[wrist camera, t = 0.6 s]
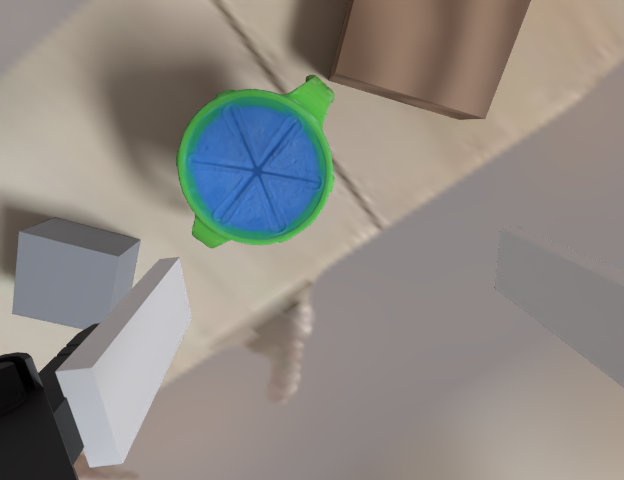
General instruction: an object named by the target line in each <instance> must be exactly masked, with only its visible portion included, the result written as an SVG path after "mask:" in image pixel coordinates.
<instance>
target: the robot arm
mask: <svg viewBox="0 0 624 480" xmlns="http://www.w3.org/2000/svg"><path fill="white" fill-rule="evenodd" d="M494 288H495V289H496V290H498V291H499V292H500V293H501V294H503V295H504V296H505V297H506V298H508V299H509V300H510V301H512V302H513V303H514V304H516V305H517V306H518V307H519V308H521V309H522V310H524V311H525V312H526V313H527V314H529V315H530V316H531V317H533V318H534V319H535V320H537V321H538V322H539V323H540V324H542V325H543V326H544V327H545V328H547V329H548V330H549V331H551V332H552V333H553V334H555V335H556V336H557V337H558V338H560V339H561V340H562V341H564V342H565V343H566V344H568V345H569V346H570V347H571V348H573V349H574V350H576V351H577V352H578V353H579V354H581V355H582V356H583V357H584V358H586V359H587V360H588V361H590V362H591V363H592V364H594V365H595V366H596V367H598V368H599V369H600V370H601V371H603V372H604V373H605V374H607V375H608V376H609V377H611V378H612V379H613V380H614V381H616V382H617V383H618V384H620V385H621V386H622V387H624V271H621V270H619V269H617V268H614V267H612V266H609V265H607V264H605V263H603V262H600V261H598V260H596V259H593V258H591V257H588V256H586V255H584V254H582V253H579V252H577V251H575V250H572V249H570V248H568V247H565V246H563V245H561V244H558V243H556V242H554V241H551V240H549V239H547V238H544V237H542V236H539V235H537V234H535V233H532V232H530V231H528V230H525V229H523V228H521V227H508V228H501V231H500V240H499V250H498V260H497V269H496V278H495V287H494ZM191 319H192V317H191V312H190V307H189V302H188V297H187V292H186V287H185V282H184V277H183V272H182V267H181V263H180V258H179V257H177V258H166V259H159V260H158V261H157V262H156V264H155V265H154V266H153V267H152V268H151V269H150V270H149V271H148V272H147V273H146V274H145V275H144V276H143V278H142V279H141V280H140V281H139V282H138V283H137V284H136V285H135V286H134V287H133V288H132V289H131V290H130V292H129V293H128V294H127V295H126V296H125V297H124V298H123V299H122V300H121V301H120V302H119V303H118V304H117V306H116V307H115V308H114V309H113V310H112V311H111V312H110V313H109V314H108V315H107V316H106V317H105V318H104V320H103V321H102V322H101V323H97V324H93V325H91V326H89V327H88V328H86V329H85V330H83V331H81V332H80V333H78V334H77V335H76V336H75V337H74V338H73V339H72V340H71V341H70V342H69V343H68V344H67V345H66V347H64V348H63V349H62V350H61V351H60V352H59V353H58V354H57V357H54V358H53V359H52V360H51V361H50V362H49V363H48V364H47V365H46V366H45V367H44V368H43V369H42V370H41V371H40V372H39V373H38V372H37V369H36V367H35V364H34V362H33V359H32V357H31V356H30V355H29V354H27V353H19V352H17V353H11V354H4V355H1V356H0V480H79V479H78V477H77V474H76V471H75V469H74V466H73V464H74V463H75V461H76V459H77V458H78V456H79V455H80V453H81V451H82V450H84V453H85V455H86V458H87V461H88V464H89V466H90V467H98V466H107V465H115V464H123V462H124V460H125V458H126V456H127V454H128V452H129V449H130V447H131V445H132V443H133V441H134V439H135V437H136V435H137V433H138V431H139V428H140V426H141V424H142V422H143V420H144V418H145V416H146V414H147V412H148V409H149V407H150V405H151V403H152V401H153V399H154V397H155V395H156V393H157V391H158V388H159V386H160V384H161V382H162V380H163V378H164V376H165V374H166V372H167V370H168V367H169V365H170V363H171V361H172V359H173V357H174V355H175V353H176V351H177V349H178V346H179V344H180V342H181V340H182V338H183V336H184V334H185V332H186V330H187V327H188V325H189V323H190V321H191Z"/></svg>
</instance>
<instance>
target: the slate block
mask: <svg viewBox="0 0 624 480" xmlns="http://www.w3.org/2000/svg"><path fill="white" fill-rule="evenodd" d="M140 241H141V240H139V239H135V238H132V237H128V236H124V235H120V234H116V233H113V232H109V231H105V230H101V229H97V228H94V227H90V226H86V225H82V224H78V223H75V222H71V221H67V220H63V219H59V218H56V217H55V218H52V219H50V220H47V221H45V222H42V223H40V224H37V225H34V226H32V227H29V228H27V229H24V230H22V231H19V238H18V250H17V262H16V274H15V287H14V299H13V311H12V314H15V315H20V316H25V317H29V318H34V319H38V320H43V321H47V322H52V323H57V324H61V325H66V326H70V327H75V328H79V329H84V330H85V329H86V328H88V327H89V326H91V325H93V324H97V323H101V322H102V321H103V320H104V318H105V317H106V316H107V315H108V314H109V313H110V312H111V311H112V310H113V309H114V308H115V307H116V306H117V304H118V303H119V302H120V301H121V300H122V299H123V298H124V297H125V296H126V295H127V294H128V293H129V292H130V290H131V289H132V284H133V279H134V273H135V268H136V262H137V257H138V252H139V246H140Z"/></svg>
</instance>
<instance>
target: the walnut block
mask: <svg viewBox="0 0 624 480" xmlns="http://www.w3.org/2000/svg"><path fill="white" fill-rule="evenodd" d="M530 1H531V0H349V3H348V7H347V11H346V15H345V19H344V23H343V26H342V30H341V34H340V38H339V42H338V46H337V50H336V54H335V58H334V62H333V66H332V70H331V74H330V77H329V81H332V82H335V83H339V84H342V85H345V86H349V87H352V88H355V89H359V90H362V91H365V92H369V93H372V94H375V95H379V96H382V97H385V98H389V99H392V100H395V101H399V102H402V103H405V104H409V105H412V106H415V107H419V108H422V109H425V110H429V111H432V112H435V113H439V114H442V115H445V116H449V117H452V118H455V119H459V120H464V119H485V118H486V115H487V113H488V110H489V107H490V105H491V102H492V100H493V97H494V94H495V92H496V89H497V87H498V84H499V82H500V79H501V76H502V74H503V71H504V69H505V66H506V63H507V61H508V58H509V56H510V53H511V50H512V48H513V45H514V43H515V40H516V38H517V35H518V32H519V30H520V27H521V25H522V22H523V19H524V17H525V14H526V12H527V9H528V6H529V4H530Z"/></svg>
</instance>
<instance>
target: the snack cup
mask: <svg viewBox="0 0 624 480" xmlns="http://www.w3.org/2000/svg"><path fill="white" fill-rule="evenodd" d="M333 100H334V93H333V91H332V90H331V89H330V88H329V87H327V86H326V84H324V83H323V82H322V81H321V80H320V79H319V78H318V77H317V76H315V75H309V76H307V77H306V83H304V84H303V85H301V86H300V87H298V88H296V89H295V90H293V91H292V92H290V93H288V94H285V95H281V94H277V93H273V92H270V91H265V90H258V89H245V90H239V91H235V90H228V91H225V92H223V93H220V94H218V95H216V99H214V100H212V101H211V102H209V103H208V104H207V105H205V106H204V107H203V108H202V109H201V110H199V111H198V112H197V114H196V115H195V116H194V117H193V118H192V120H191V121H190V123H189V124H188V126H187V128H186V130H185V132H184V134H183V137H182V140H181V143H180V147H179V150H178V152H177V156H176V165H177V167H178V176H179V181H180V185H181V188H182V191H183V194H184V196H185V198H186V200H187V202H188V204H189V206H190V207H191V209H192V210H193V211H194V213H195V221H194V225H193V228H192V230H193V231H192V235H193V236H194V237H195V238H196V239H198V240H200V241H201V242H203V243H204V244H205V245H206V246H208V247H210V248H215V247H217V246H220V245H222V244H223V243H225V242H228V241H230V240H233V241H236V242H240V243H244V244H251V245H268V244H273V243H277V242H279V243H281V242H284V241H287V240H289V239H291V238H292V237H293V236H295V235H297V234H298V233H300V232H301V231H303V230H304V229H305V228H307V227H308V226H309V225H310V224H312V222H313V221H314V220H315V219H316V218H317V216H318V215H319V213H320V212H321V210H322V209H323V207H324V205H325V203H326V201H327V198H328V196H329V193H330V192H331V191H332V188H333V184H334V176H333V165H332V157H331V152H330V149H329V145H328V142H327V140H326V138H325V136H324V133H323V130H322V126H323V122H324V119H325V116H326V114H327V111H328V108H329V106H330V103H332V102H333Z"/></svg>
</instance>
